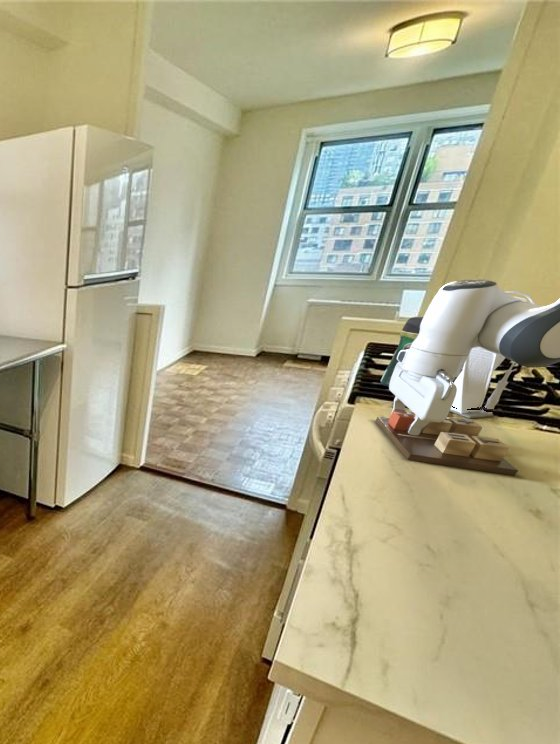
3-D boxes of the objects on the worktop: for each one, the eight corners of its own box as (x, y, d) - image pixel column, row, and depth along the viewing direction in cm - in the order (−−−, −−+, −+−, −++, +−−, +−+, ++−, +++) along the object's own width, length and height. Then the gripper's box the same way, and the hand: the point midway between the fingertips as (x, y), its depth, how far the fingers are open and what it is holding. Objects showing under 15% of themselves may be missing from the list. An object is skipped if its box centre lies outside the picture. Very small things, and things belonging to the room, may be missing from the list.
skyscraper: (464, 418, 112) (530, 294, 99) (428, 405, 119) (485, 288, 107) (492, 415, 114) (560, 293, 101) (455, 403, 121) (514, 287, 108)
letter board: (464, 433, 105) (467, 427, 105) (515, 475, 89) (518, 469, 88) (375, 421, 111) (377, 416, 110) (407, 459, 94) (410, 453, 94)
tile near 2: (439, 429, 104) (446, 416, 103) (448, 436, 101) (455, 423, 99) (414, 425, 106) (421, 412, 104) (422, 433, 102) (429, 419, 101)
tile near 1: (466, 432, 103) (473, 419, 101) (475, 440, 99) (483, 426, 98) (442, 429, 104) (449, 416, 103) (450, 437, 101) (457, 423, 99)
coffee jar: (428, 389, 130) (462, 319, 121) (419, 395, 126) (453, 323, 117) (385, 379, 137) (413, 313, 128) (374, 385, 133) (403, 316, 124)
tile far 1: (490, 452, 94) (498, 438, 93) (501, 461, 91) (509, 447, 90) (464, 449, 96) (472, 435, 94) (474, 457, 93) (482, 443, 91)
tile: (459, 448, 96) (466, 434, 95) (468, 457, 93) (476, 442, 91) (433, 444, 97) (441, 430, 96) (442, 453, 94) (450, 439, 93)
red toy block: (411, 425, 106) (417, 412, 104) (418, 432, 103) (425, 419, 101) (385, 422, 107) (391, 409, 106) (392, 429, 104) (398, 415, 103)
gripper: (477, 381, 89) (442, 447, 95) (431, 352, 106) (404, 410, 112) (434, 376, 91) (403, 442, 97) (396, 349, 108) (371, 406, 114)
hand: (403, 425), depth 105 cm, fingers open, 8 cm apart
